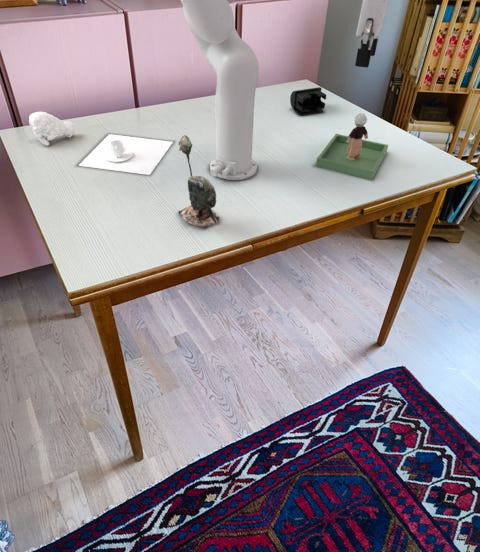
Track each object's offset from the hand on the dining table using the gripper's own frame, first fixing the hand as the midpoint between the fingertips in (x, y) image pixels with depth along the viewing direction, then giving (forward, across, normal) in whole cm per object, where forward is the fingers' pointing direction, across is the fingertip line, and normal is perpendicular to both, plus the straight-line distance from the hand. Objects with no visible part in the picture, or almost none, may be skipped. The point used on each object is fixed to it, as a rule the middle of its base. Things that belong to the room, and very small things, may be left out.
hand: (365, 60), depth 115 cm
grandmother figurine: (+25, +2, +2) cm, 26 cm away
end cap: (+26, -27, -19) cm, 42 cm away
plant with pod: (+25, +46, -25) cm, 58 cm away
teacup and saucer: (+25, +24, -57) cm, 67 cm away
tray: (+26, +2, +2) cm, 26 cm away
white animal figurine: (+25, +25, -80) cm, 88 cm away
